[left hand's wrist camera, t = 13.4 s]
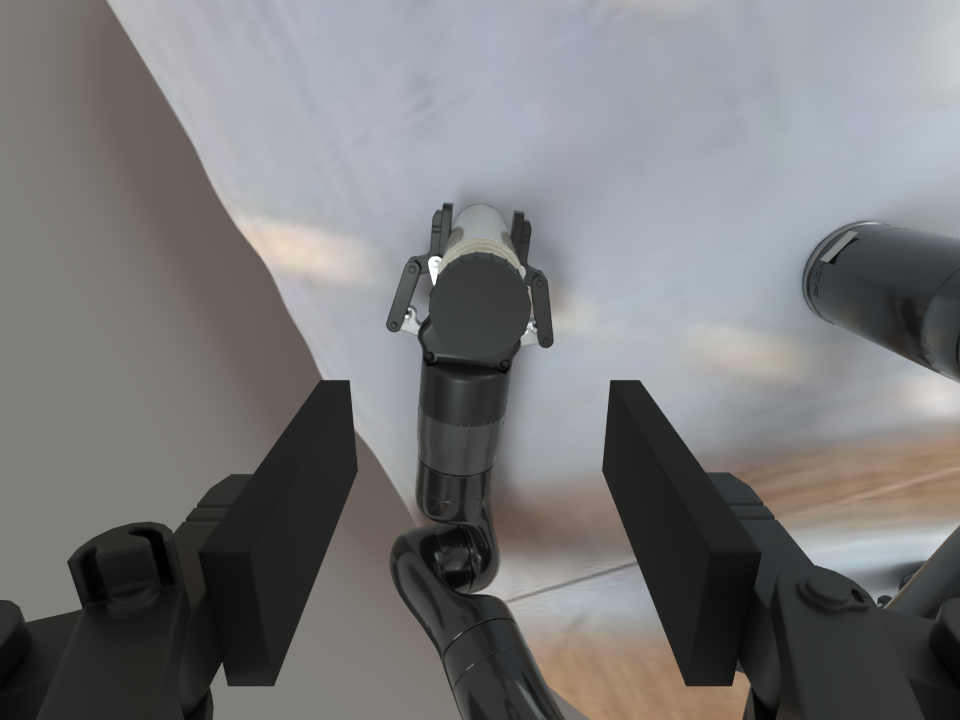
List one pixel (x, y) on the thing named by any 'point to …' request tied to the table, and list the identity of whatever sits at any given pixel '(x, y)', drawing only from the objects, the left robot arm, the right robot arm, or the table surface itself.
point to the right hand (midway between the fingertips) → (483, 208)
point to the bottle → (479, 236)
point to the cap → (479, 305)
